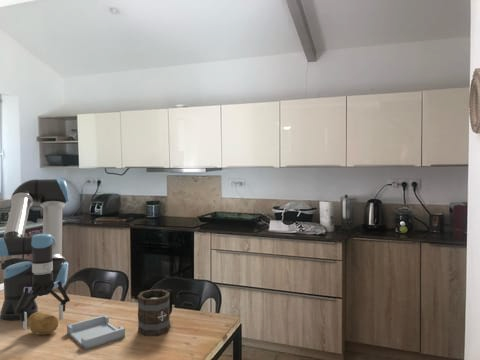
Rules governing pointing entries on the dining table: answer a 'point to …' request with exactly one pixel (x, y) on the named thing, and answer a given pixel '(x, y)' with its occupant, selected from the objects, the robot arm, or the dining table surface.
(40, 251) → the robot arm
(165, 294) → the mug
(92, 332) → the light blue shallow tray
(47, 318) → the potato
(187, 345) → the dining table surface
